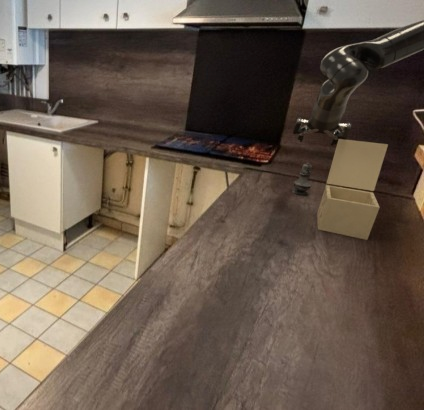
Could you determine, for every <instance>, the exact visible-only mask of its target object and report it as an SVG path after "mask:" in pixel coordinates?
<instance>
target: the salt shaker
mask: <svg viewBox="0 0 424 410" xmlns="http://www.w3.org/2000/svg"><path fill="white" fill-rule="evenodd" d="M312 168H313V165H312V164H311V163H310V161H309V160H308V161H307V162H306V163H304V164H302V168H301V171H300V172H299V177H298V179H297V180H294V181H293V188H294V189H293V190H291V192H292V194H294V195H298V196H308V195H309V192H307V191H309V190H310V188H311V187H312V186H313V184H312V183H310V182H309V179H310V176H312V174H311V172H312Z"/></svg>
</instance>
